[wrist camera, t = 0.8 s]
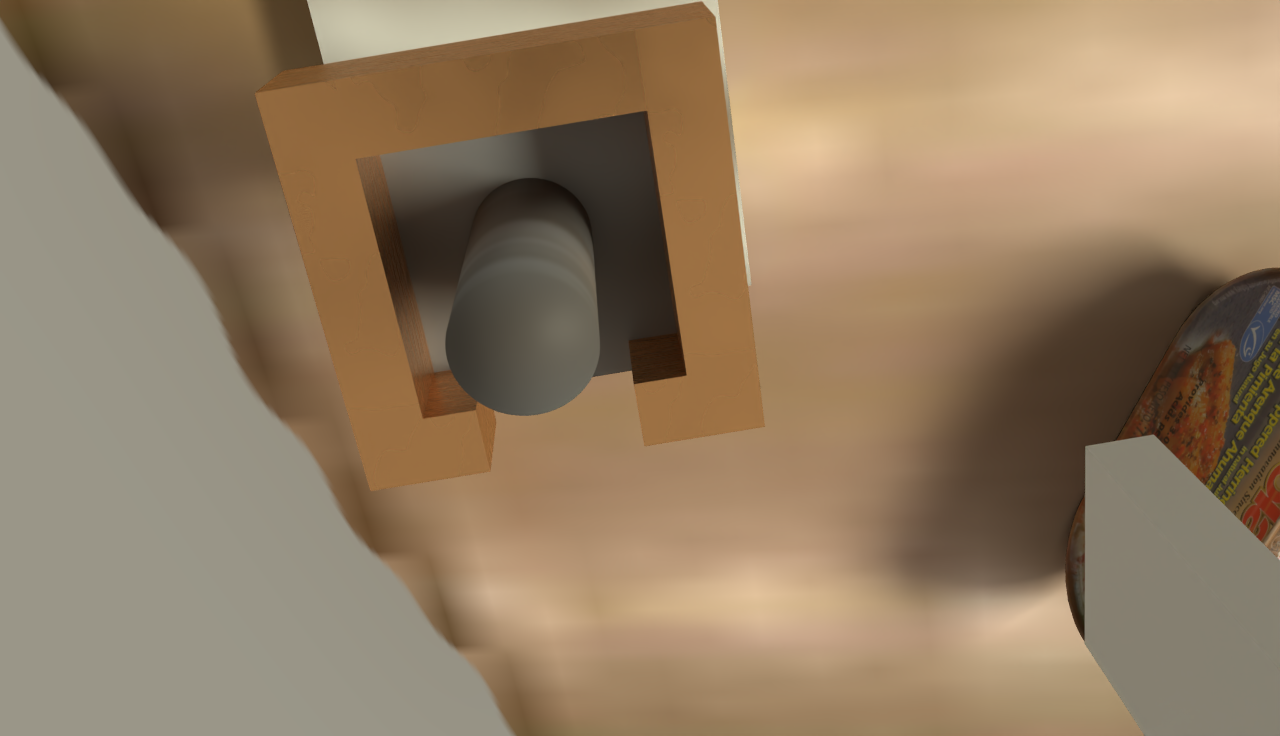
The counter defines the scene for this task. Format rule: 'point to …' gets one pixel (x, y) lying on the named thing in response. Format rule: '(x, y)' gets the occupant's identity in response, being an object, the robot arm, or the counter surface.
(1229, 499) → the tin
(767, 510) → the counter surface
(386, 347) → the link
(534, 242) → the post stand
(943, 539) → the counter surface
